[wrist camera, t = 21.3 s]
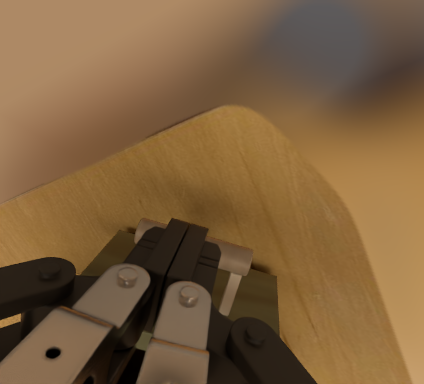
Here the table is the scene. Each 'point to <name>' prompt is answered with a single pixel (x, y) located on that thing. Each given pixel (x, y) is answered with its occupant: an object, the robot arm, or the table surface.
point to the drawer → (222, 292)
